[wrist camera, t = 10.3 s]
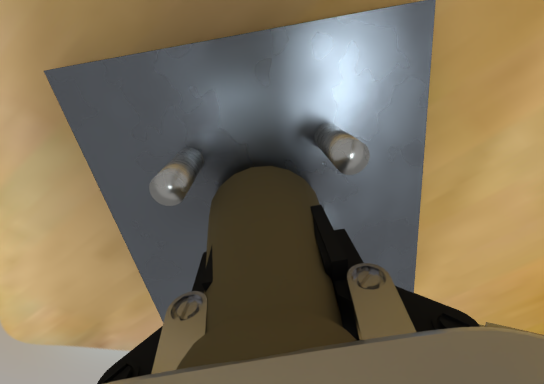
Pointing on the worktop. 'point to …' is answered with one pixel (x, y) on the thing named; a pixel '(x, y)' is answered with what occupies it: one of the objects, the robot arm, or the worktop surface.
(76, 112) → the pin plate
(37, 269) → the worktop surface
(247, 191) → the olive tapered piece
